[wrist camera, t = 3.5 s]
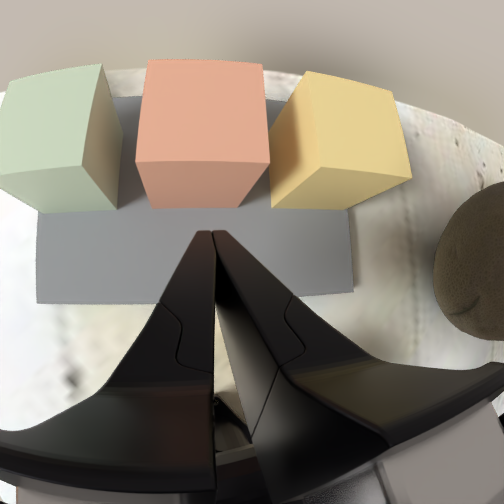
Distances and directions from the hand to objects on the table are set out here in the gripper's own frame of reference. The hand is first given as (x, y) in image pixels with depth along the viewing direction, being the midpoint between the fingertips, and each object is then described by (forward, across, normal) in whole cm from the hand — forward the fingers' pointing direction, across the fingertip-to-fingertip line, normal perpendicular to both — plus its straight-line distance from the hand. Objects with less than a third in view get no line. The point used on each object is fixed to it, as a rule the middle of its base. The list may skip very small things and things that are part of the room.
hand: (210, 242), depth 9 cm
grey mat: (+13, 0, +5) cm, 14 cm away
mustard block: (+14, -9, +4) cm, 17 cm away
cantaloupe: (+9, -25, +10) cm, 29 cm away
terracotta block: (+14, 0, +3) cm, 14 cm away
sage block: (+14, +8, +3) cm, 16 cm away
